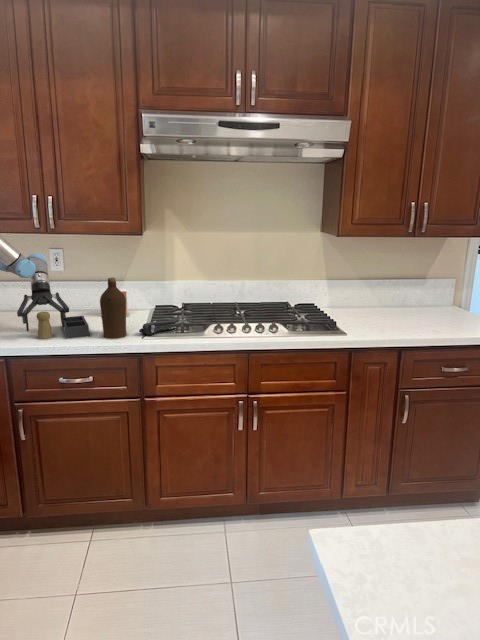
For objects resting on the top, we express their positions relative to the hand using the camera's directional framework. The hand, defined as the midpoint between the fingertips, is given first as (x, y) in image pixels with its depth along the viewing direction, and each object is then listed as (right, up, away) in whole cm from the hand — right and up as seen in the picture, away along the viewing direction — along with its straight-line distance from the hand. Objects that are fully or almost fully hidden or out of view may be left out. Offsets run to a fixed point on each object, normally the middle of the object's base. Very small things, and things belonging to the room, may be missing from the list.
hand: (45, 328), depth 192 cm
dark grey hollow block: (+8, -2, +12) cm, 14 cm away
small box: (+20, +5, +39) cm, 45 cm away
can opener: (+45, -2, +13) cm, 47 cm away
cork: (-2, -4, +3) cm, 6 cm away
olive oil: (+27, -4, +7) cm, 28 cm away
